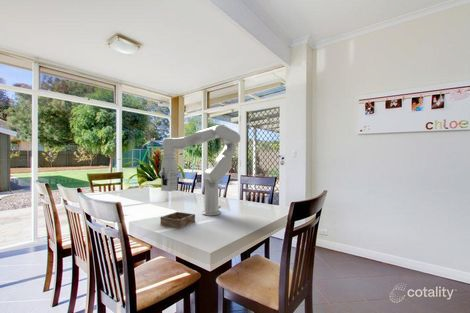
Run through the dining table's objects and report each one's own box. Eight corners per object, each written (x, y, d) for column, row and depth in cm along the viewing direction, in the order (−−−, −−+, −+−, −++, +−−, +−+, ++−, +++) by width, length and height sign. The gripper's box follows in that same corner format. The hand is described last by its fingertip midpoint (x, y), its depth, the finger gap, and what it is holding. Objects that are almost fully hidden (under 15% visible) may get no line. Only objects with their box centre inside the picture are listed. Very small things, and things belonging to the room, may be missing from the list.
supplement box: (160, 190, 140) (160, 171, 140) (169, 189, 146) (169, 170, 146) (169, 191, 136) (169, 171, 136) (177, 190, 143) (177, 170, 143)
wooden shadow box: (177, 218, 140) (177, 211, 140) (195, 221, 133) (195, 214, 133) (160, 224, 127) (160, 217, 127) (179, 228, 121) (179, 220, 121)
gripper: (174, 157, 151) (174, 182, 151) (154, 157, 135) (154, 185, 135) (182, 157, 147) (183, 183, 147) (163, 157, 132) (163, 186, 132)
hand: (169, 184), depth 141 cm, fingers closed on supplement box, 7 cm apart
